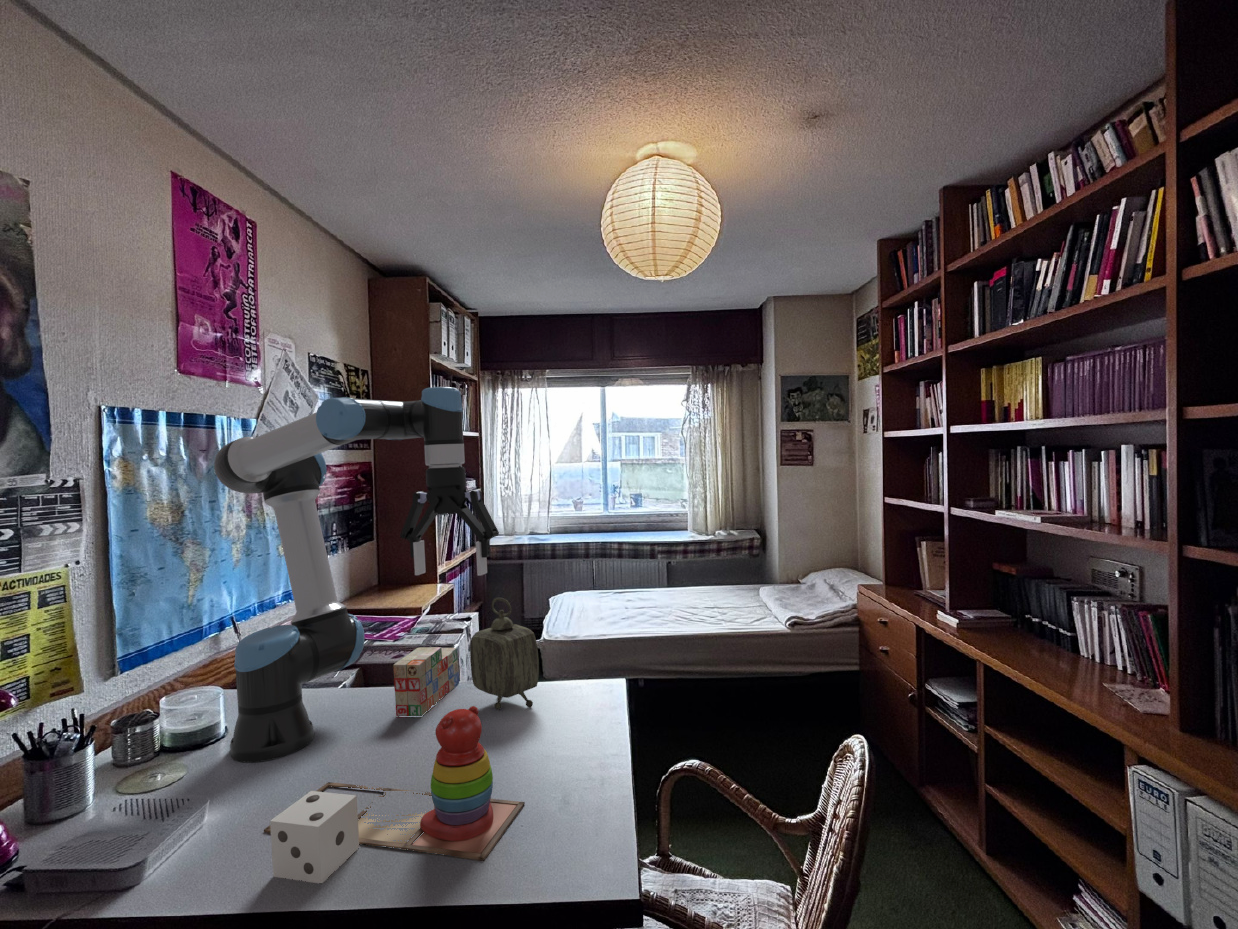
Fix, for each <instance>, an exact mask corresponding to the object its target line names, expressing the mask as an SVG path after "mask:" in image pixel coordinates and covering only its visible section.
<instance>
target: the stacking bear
mask: <svg viewBox="0 0 1238 929" xmlns="http://www.w3.org/2000/svg"><path fill="white" fill-rule="evenodd" d="M482 730H483V726H482V722H481V719H480V717H479V709H478V707H476V705H475V706H474V705H473V706H470V707H469V708H468V709H467V708H457V709H453V710H452V711H448V712H447V713H446V714H445V715H444V716H443V717H442V718H441V719H440V721H439V723H438V724H437V726H436V727H435V732H434V733H435V738H436V740H437V743H438V744H439V746H440V747H441V748H440V749H438V751H437V753H436V756H435V760H434V763H433V768H432V769H433V770H432V774H431V780H430V792H431V795H432V801H433V804H434V809H433V810H431V811H429V812H427V813H426V814H424V815H423V817H422V819H421V821H420V827H421V829H422V830H423V831H424V832H425V833H427V834H428V835H430V836H432V837H435V838H438V839H442V840H449V841H460V840H466V839H470V838H473V837H476V836H478V835H480V834H482V833H483V832H485V831H486V830H487V829H488V828H489V827H490V826H491V824H492V822H493V809H492V805H491V803H490V799H492V794H493V786H494V776H493V769H492V765H491V763H490V757H489V755H488V752H487V750H486V749H485V748H484V746H483V745H482V744H481V743H480V742H479V741H480V740H481V736H482Z"/></svg>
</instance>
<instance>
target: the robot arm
mask: <svg viewBox="0 0 1238 929" xmlns="http://www.w3.org/2000/svg"><path fill="white" fill-rule="evenodd" d="M463 412H464V408H463V402H462V394H461V391H460V390H459V389H458V388H456V387H450V386H433V387H426V388H424V389H422V391H421V397H420V399H419V400H411V401H409V400H408V401H399V400H398V401H396V400H378V399H365V398H354V397H353V398H352V397H348V396H346V397H345V396H341V397H329V398H326V399H324V400H323V401H322V402H321V405H320V406H318V408H317V410H316V412H314V413H312V414H309V415H307V416H304V417H302V418H299V419H296V420H295V421H291V422H290V423H287V424H285V425H282V426H280V427H278V428H274V429H272V430H270V431H267V432H265V433H263V434H260V435H258V436H255V437H253V436H243V437H241V438H237V439H236V440H233V441H230V442H228V443H226V444H225V445H223V446H222V447H221V448H220V449H218V450H219V451H217V454H216V455H215V457H214V462H213V467H214V468H213V470H214V473H215V476H216V477H217V479H218V480H219V482H220V483H221V484H222V485H223V486H225V487H226V488H227V489H229V490H231V491H233V492H238V493H241V494H250V495H251V494H262V495H263V500H264V504H265V505H267V506H269V507H271V508H272V509H273V510H274V515H275V518H276V523H277V529H278V533H279V537H280V541H281V542H280V543H281V546H282V551H283V555H284V561H285V566H286V569H287V574H288V578H289V579H288V580H289V584H290V588H291V592H292V598H293V601H294V606H295V611H296V612H295V615H294V616H293V617H292V619H291V620H290V624H280V625H275V626H273V627H267V628H262V629H259V630H257V631H255V632H252V633H250V634H248V635H247V636H245V637H243V638H242V639H241V640H240V641H239V642H238V643H237V645H236V647H235V650H234V664H233V666H234V669H235V679H236V681H235V682H236V698H237V712H238V714H237V719H236V721H235V722H236V723H235V726H234V729H233V736H232V738H231V739H230V743H229V750H230V751H229V753H230V758H231V759H232V760H233V761H236V762H241V763H260V762H265V761H270V760H275V759H279V758H282V757H286V756H288V755H291V754H293V753H296V752H297V751H299V750H302V749H303V748H305V747H306V746H308V745H309V744H310V743H311V742H312V741H313V739H314V724H313V723H312V721H311V720H310V717H309V715H308V712H307V709H306V707H305V704H304V702H303V688H302V686H303V684H306V683H309V682H310V681H314V680H316V679H319V678H321V677H323V676H327V675H329V674H332V673H335V672H340V671H341V670H343V669H345V668H346V667H349V666H351V665H353V664H354V663H355V662H356V661H357V660H358V659H359V658H360V656H361V653H362V652H363V649H364V645H365V631H364V627H363V625H362V624H363V623H362V622H361V621H360V620H359V619H358V617H357V616H356V615H353V614H351V613H348V608H347V606H346V605H345V604H343V603H341V602H339V599H338V597H337V593H336V588H335V584H334V579H333V575H332V571H331V566H330V561H329V558H328V557H329V556H328V553H327V552H328V551H327V549H326V548H327V547H326V544H325V539H324V534H323V531H322V526H321V520H320V518H319V512H318V508H317V504H316V503H317V502H316V499H317V498H318V496H319V495H320V494H321V488H320V487H321V486H322V485H323V484H324V483H325V480H326V476H325V475H327V471H328V470H327V464H326V461H325V457H324V456H323V454H322V453H325V452H327V451H329V450H333V449H335V448H338V447H340V446H343V445H346V444H349V443H352V442H355V441H358V440H391V441H402V440H410V439H418V438H421V439H422V438H423V442H424V446H423V447H424V463H425V466H426V467H427V466H428V468H426V470H425V482H426V483H425V484H426V486H427V492H424V491H423V490H422V491H417V492H413V493H412V502H411V506H410V509H409V510H408V514H407V516H406V519H405V521H404V524H403V527H402V529H401V532H400V534H399V536H400V538H401V539H402V540H404V539H405V540H407V541H408V542H409V548H410V549H409V552H410V557H411V558H412V559H413V565H414V566H413V568H414V576H420V575H422V574H425V573H426V572H427V571H426V554H425V553H426V552H425V540H424V539H423V540H422V537H423V536H424V534H425V533H426V531H427V530H428V528H429V527H430V525H431V524H432V523H433V521H434V520H435V519H436V517H437V516H438V515H445V514H448V515H454V514H456V515H457V517H460V518H461V519H462V521H463V522H464V523H465V524H466V525H467V526H468V527H469V529H470V530H471V531H472V533H473V534H474V535H475V536H476V538H478V540H477V541H475V552H476V553H475V554H476V572H477V574H476V575H477V576H484V575H485V574H488V559H487V558H488V557H491V540H492V539H493V538H496V537H498V536H499V535H500V534H499V530H498V527H497V526H496V524H495V522H494V521H493V518H492V516H491V514H490V512H489V511H488V509H487V507H486V504H485V503H484V501H483V495H482V491H481V490H480V489H474V490H470V491H468V490H467V489H466V484H467V480H466V479H467V476H466V474H467V473H466V468H465V467H464V466H463V465H464V464H465V463H466V461H465V460H466V459H465V441H464V421H463V420H464V419H463V418H464V415H463ZM467 500H468V501H469V502H470V503H471V505H472V507H473V510H474V511H475V514H476V515H477V517H478V519H479V520H478V519H477V517H476V516H475V515H474V514H473V512H472V511H471V509H470V507H469V506H468V504H466V501H467ZM426 502H428V503H429V505H428V507H427V509H426V510H425V511H424V515H423V516H422V517H421V518H420V516H421V514H422V511H423V508H424V506H425V503H426ZM419 518H420V520H419ZM418 521H419V522H418Z"/></svg>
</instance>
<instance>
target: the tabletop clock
mask: <svg viewBox="0 0 1238 929" xmlns="http://www.w3.org/2000/svg"><path fill="white" fill-rule="evenodd" d="M497 601H500V602H504V603H506V605H507V607H508V608H509V611H508V612H507V613H505V611H504V609H499V611H498V610H496V609H495V607H494V605H495V603H496V602H497ZM491 610H492V611H493V613H494V614H495V615H497V616H498V617H496V618H495V619H494V620H493V621H492V622H491V626H490V627H488V628H485V629H481V630H478V631H477V632H475V633H474V634H473V635H472V637H471V638H470V644H469V645H470V646H469V652H470V654H469V656H470V657H469V658H470V670H471V680H472V684H473V686H474V687H475V688H476V689H478V691H481V692H484V693H486V694H488V695H493V696H497V701H496V702H495V704H494V708H495V709H496V710H501V708H502V707H503V703H502V702H501V699H502V698H504V699H505V698H506V699H509V698H513V697H514V696H517V695H519V696H521V697H522V699H523V700H524V701H525V706H526V707H527V708H532V707H533V704H534V702H533V700H531V699H529V698H528V697H527V696H526V694H525V692H526V691H529V690H531V689H534V688H536V687H537V686H538V683H539V674H540V673H539V672H540V669H539V666H540V665H539V664H540V663H539V652H538V649H539V648H538V643H537V639H536V634H535V632H533V630H531V629H530V628H528V627H525V626H522V625H519V624H515V623H514V622H513V621H512V619H510V617H508V616H510V614H512V606H511V603H510V602H509V601H508V600H507V599H506V598H503V597H495V598H493V600H492V601H491Z"/></svg>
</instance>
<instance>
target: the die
mask: <svg viewBox="0 0 1238 929" xmlns="http://www.w3.org/2000/svg"><path fill="white" fill-rule="evenodd" d="M358 814H359V813H358V798H357V795H354V794H346V793H336V792H335V793H334V792H327V791H323V792H318V791H317V790H310V791H309V792H308V793H306V794H305V795H303V796H302V797H301V798H299V799H298V800H296V801H295V802H294V803H292V804H291V805H290V806H288V807H287V808H286V809H284V810H283V811H282V812H280V813H279V814H277V815H276V816H274V817H273V818H272V819H271V820H269V822H270V823H269V825H270V828H271V833H270V841H271V842H270V843H271V857H272V858H271V859H272V873H273V874H272V876H273V878H280V879H285V878H286V880H292V879H293V881H299V880H300V882H305V881H306V882H307V883H311V884H312V883H314V884H319V883H322V884H323V883H324V882H326V880H327V879H329V878H330V877H331V876H332V875H333V874H334V873H335V872H336V871H337V870H338V869H339V868H340V867H341V866H342V865H344V864H345V863H346V861H347V860H346V859H348V858H349V857H350V856H351V855H352V854H353V853H354V852H355V851H356V850H357V849H358V848H359V847H360V845H359V830H358ZM359 849H360V848H359ZM359 849H358V850H359ZM358 850H357V851H358ZM357 851H356V852H357ZM356 852H355V853H356ZM355 853H354V854H355ZM354 854H353V855H354ZM353 855H352V856H353ZM352 856H351V857H352ZM351 857H350V858H351ZM350 858H349V859H350ZM339 866H340V867H339ZM334 871H335V872H334ZM333 872H334V873H333ZM332 873H333V874H332ZM331 874H332V875H331ZM330 875H331V876H330ZM329 876H330V877H329ZM328 877H329V878H328ZM301 880H302V881H301Z"/></svg>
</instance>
